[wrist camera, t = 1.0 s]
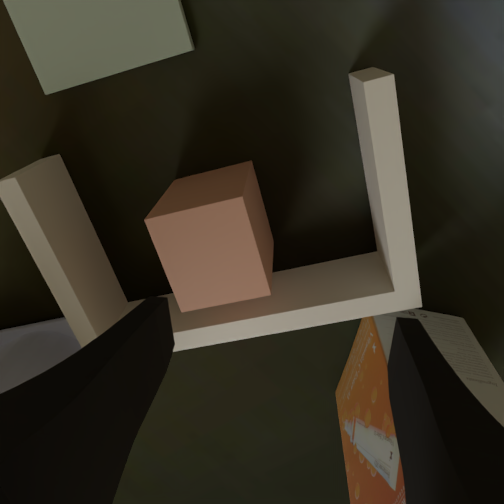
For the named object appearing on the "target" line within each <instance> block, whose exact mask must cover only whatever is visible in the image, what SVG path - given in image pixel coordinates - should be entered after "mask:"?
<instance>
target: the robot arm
mask: <svg viewBox="0 0 504 504" xmlns="http://www.w3.org/2000/svg"><path fill="white" fill-rule="evenodd" d="M174 346H175V342H174V336H173V329H172V323H171V317H170V311H169V304H168V298H167V297H156V296H149V297H148V298H146V299H145V300H144V301H143V302H141V303H140V304H139V305H138V306H136V307H135V308H134V309H133V310H131V311H130V312H129V313H128V314H127V315H125V316H124V317H123V318H122V319H120V320H119V321H118V322H116V323H115V324H114V325H113V326H111V327H110V328H109V329H108V330H106V331H105V332H104V333H102V334H101V335H100V336H98V337H97V338H95V339H94V340H93V341H91V342H90V343H88V344H87V345H86V346H84V347H83V348H82V347H81V346H80V344H79V342H78V340H77V338H76V336H75V335H74V333H73V331H72V329H71V327H70V325H69V323H68V322H67V320H66V318H65V317H63V318H58V319H53V320H48V321H43V322H38V323H33V324H28V325H23V326H18V327H14V328H9V329H4V330H0V504H112V503H113V500H114V497H115V494H116V490H117V487H118V484H119V481H120V478H121V475H122V472H123V470H124V467H125V464H126V461H127V458H128V456H129V453H130V450H131V447H132V445H133V442H134V440H135V437H136V435H137V433H138V430H139V428H140V426H141V424H142V422H143V420H144V418H145V416H146V414H147V412H148V410H149V407H150V405H151V403H152V401H153V399H154V397H155V395H156V393H157V391H158V388H159V386H160V384H161V382H162V380H163V378H164V376H165V373H166V371H167V368H168V365H169V362H170V359H171V356H172V352H173V349H174ZM387 371H388V388H389V399H390V405H391V411H392V416H393V422H394V427H395V433H396V438H397V443H398V449H399V454H400V459H401V465H402V471H403V478H404V486H405V498H406V504H504V427H503V426H502V425H501V424H500V423H499V422H498V421H497V420H496V419H495V418H494V417H493V416H492V415H491V414H490V413H489V411H488V410H487V409H486V408H485V407H484V406H483V405H482V404H481V403H480V402H479V400H478V399H477V398H476V397H475V396H474V395H473V393H472V392H471V391H470V390H469V389H468V388H467V386H466V385H465V384H464V383H463V381H462V380H461V379H460V378H459V376H458V375H457V374H456V372H455V371H454V370H453V368H452V367H451V366H450V365H449V363H448V362H447V361H446V359H445V358H444V356H443V355H442V354H441V352H440V351H439V349H438V348H437V346H436V345H435V343H434V342H433V340H432V339H431V337H430V336H429V334H428V333H427V331H426V330H425V328H424V327H423V325H422V323H421V322H420V321H419V320H418V319H415V318H403V317H396V322H395V327H394V333H393V338H392V343H391V349H390V354H389V360H388V365H387Z"/></svg>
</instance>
